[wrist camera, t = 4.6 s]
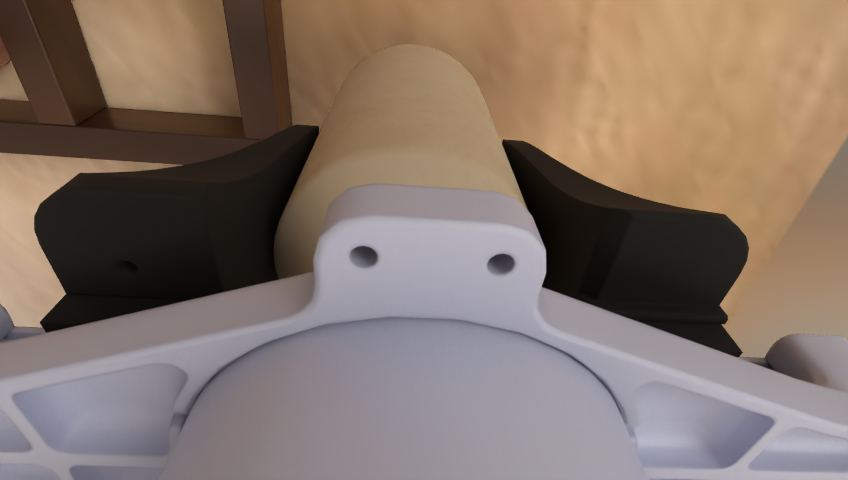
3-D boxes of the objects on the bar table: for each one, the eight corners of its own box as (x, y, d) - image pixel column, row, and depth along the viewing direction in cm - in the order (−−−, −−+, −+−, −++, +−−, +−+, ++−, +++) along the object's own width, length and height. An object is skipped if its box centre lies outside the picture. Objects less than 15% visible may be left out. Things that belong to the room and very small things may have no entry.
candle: (477, 27, 14) (560, 164, 6) (490, 175, 17) (556, 394, 9) (315, 57, 15) (193, 222, 7) (357, 196, 18) (309, 422, 10)
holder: (295, 149, 23) (283, 172, 21) (-101, 121, 22) (-155, 142, 20) (270, -103, 17) (251, -106, 15) (-284, -163, 16) (-391, -176, 14)
